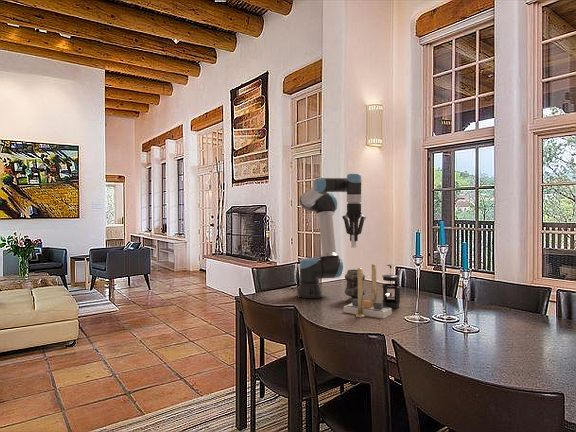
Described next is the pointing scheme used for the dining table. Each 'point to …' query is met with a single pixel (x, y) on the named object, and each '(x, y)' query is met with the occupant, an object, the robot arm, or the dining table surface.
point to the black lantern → (390, 302)
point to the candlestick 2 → (373, 283)
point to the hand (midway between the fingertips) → (353, 247)
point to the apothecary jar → (353, 284)
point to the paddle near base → (355, 302)
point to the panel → (369, 311)
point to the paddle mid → (367, 303)
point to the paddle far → (378, 305)
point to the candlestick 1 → (360, 294)
